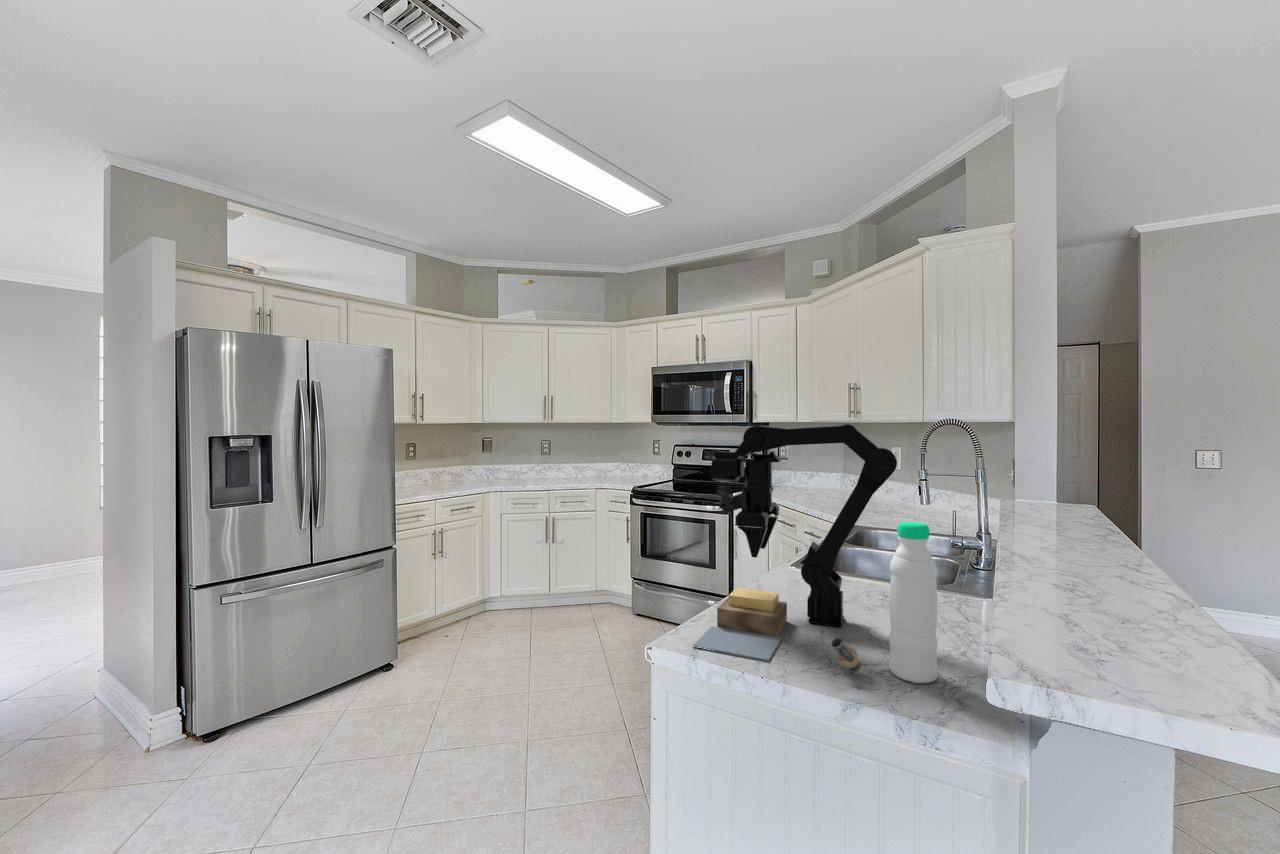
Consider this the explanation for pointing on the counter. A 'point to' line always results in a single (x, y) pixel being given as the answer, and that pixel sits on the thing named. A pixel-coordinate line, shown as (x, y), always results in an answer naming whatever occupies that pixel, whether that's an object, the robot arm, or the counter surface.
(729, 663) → the counter surface
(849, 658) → the vase
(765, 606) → the pale yellow rectangular block
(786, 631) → the counter surface
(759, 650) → the mat
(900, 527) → the water bottle
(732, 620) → the brown box
